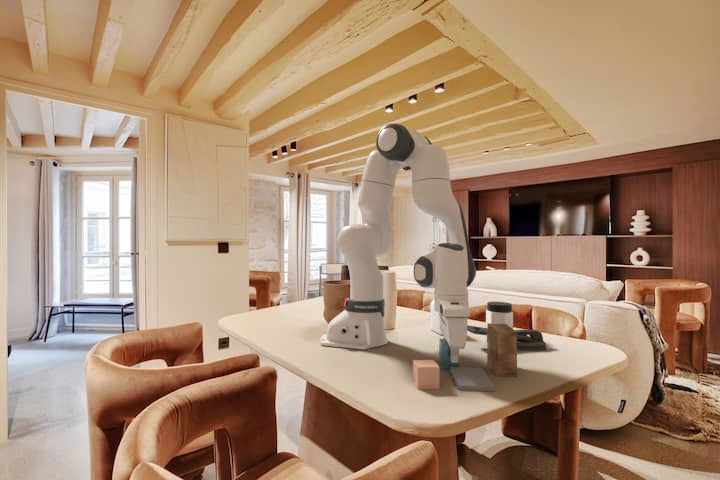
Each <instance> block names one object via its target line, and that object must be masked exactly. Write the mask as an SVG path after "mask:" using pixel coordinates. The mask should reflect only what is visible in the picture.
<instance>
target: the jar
mask: <svg viewBox="0 0 720 480" xmlns="http://www.w3.org/2000/svg"><path fill="white" fill-rule="evenodd" d="M486 306H487V307H486V309H485V328H488V324H507V325H508V326H509V327H511V328H512V329H513V330H514V312H513V307H512V306H513V305H512V303H510V302H506V301H505V302H504V301H488V302H487V303H486ZM485 336H486V337H487V335H485Z"/></svg>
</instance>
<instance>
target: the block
mask: <svg viewBox="0 0 720 480" xmlns="http://www.w3.org/2000/svg"><path fill="white" fill-rule="evenodd" d="M440 370H441V368H440V365H438V363H437V362H436V361H435V359H413V360H412V382H413V383H414V385H415V387H416V389H417V390H437V389H438V390H439V389H440Z"/></svg>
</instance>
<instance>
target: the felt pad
mask: <svg viewBox="0 0 720 480" xmlns="http://www.w3.org/2000/svg"><path fill="white" fill-rule="evenodd" d="M449 371H450V374H451V376H452V378H453V381H454V384H455V386H456V388H457V390H464V391H481V392H482V391H483V392H495V385H494V384H493V382H492V381H491V379H490V378H489V377H488V375H487V373H486V371H485V370H484V369H483V368H482V367H465V366H463V367H462V366H459V367H450V370H449Z"/></svg>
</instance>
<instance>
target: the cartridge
mask: <svg viewBox="0 0 720 480" xmlns="http://www.w3.org/2000/svg"><path fill="white" fill-rule="evenodd" d="M438 341H439V343H438V344H439V346H438V347H439V351H438V352H439V354H438V356H439V357H438V359H439V362H438V364H439V365H438V366H439V367H440V370H441V371H450V367H460V354H459V355H458V363H452V362H451V360H450V354H451V349H450V347H449V345H448V343H447V341H446V339H444V338H439V340H438Z"/></svg>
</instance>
